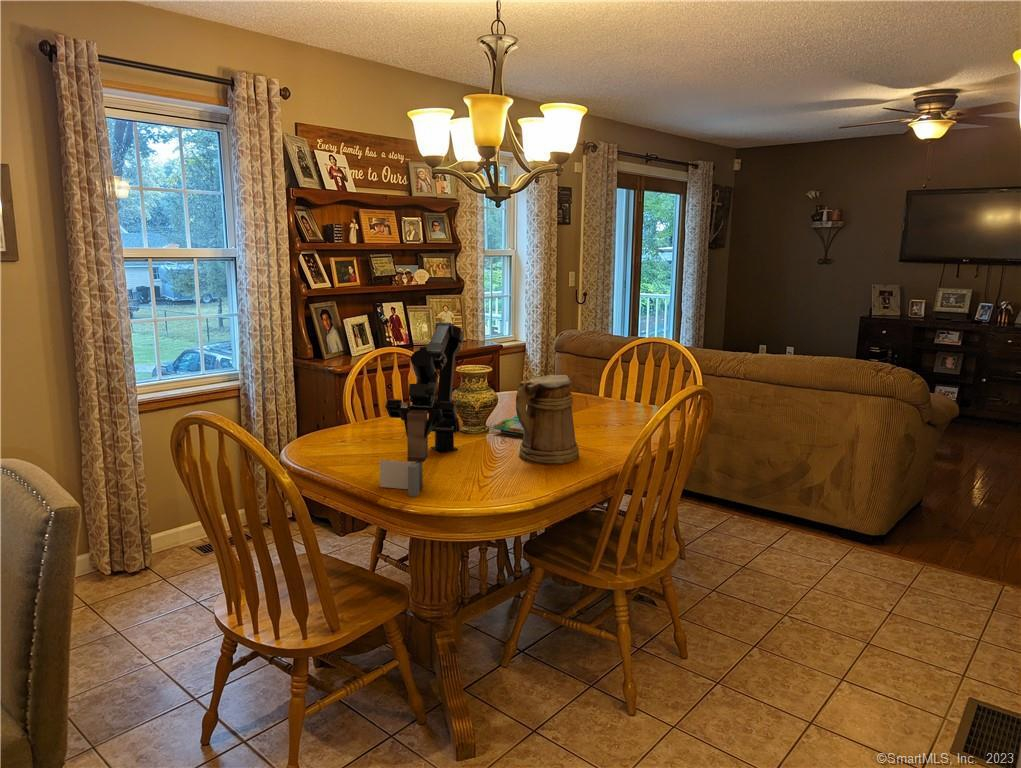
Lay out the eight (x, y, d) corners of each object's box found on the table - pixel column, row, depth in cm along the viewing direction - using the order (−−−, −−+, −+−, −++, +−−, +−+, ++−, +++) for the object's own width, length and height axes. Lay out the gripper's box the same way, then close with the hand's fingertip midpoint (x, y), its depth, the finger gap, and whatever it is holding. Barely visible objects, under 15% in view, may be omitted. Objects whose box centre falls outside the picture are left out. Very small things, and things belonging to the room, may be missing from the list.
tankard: (590, 456, 218) (593, 377, 213) (540, 473, 201) (542, 387, 196) (546, 444, 230) (548, 369, 225) (495, 459, 213) (496, 378, 209)
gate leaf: (423, 488, 186) (423, 462, 185) (421, 490, 184) (420, 464, 183) (382, 484, 189) (382, 458, 187) (379, 487, 187) (379, 460, 185)
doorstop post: (411, 456, 192) (411, 409, 189) (428, 457, 191) (427, 410, 189) (407, 461, 187) (406, 413, 185) (424, 462, 187) (423, 414, 184)
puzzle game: (550, 415, 252) (524, 427, 235) (550, 428, 253) (524, 440, 236) (521, 411, 257) (493, 422, 240) (521, 423, 258) (493, 435, 241)
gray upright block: (415, 497, 180) (415, 467, 179) (408, 496, 181) (407, 466, 179) (419, 493, 183) (419, 463, 182) (412, 492, 184) (411, 462, 182)
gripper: (386, 369, 190) (374, 419, 181) (454, 372, 188) (446, 422, 179) (395, 392, 199) (384, 440, 190) (460, 395, 197) (452, 444, 188)
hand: (416, 436), depth 187 cm, fingers closed on doorstop post, 4 cm apart
